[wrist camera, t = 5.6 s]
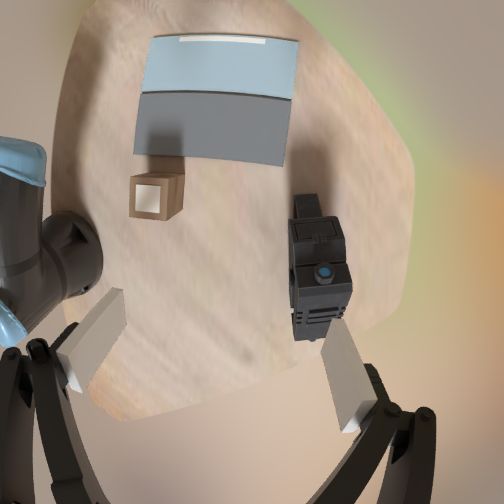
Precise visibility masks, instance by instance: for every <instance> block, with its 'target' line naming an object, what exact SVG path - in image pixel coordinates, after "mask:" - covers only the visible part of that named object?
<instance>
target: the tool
mask: <svg viewBox="0 0 504 504" xmlns="http://www.w3.org/2000/svg"><path fill="white" fill-rule="evenodd" d="M293 218H294V219H288V230H289V295H290V306H291V308H294V313H291V315H292V325H293V334H294V339H295V341H301V340H309V341H311V342H314V341H315V340H316V339H319V338H326V335H327V332H328V330H329V327H330V324H331V321H332V318H336V319H341V317H343V312H345V310H346V308H345V307H346V306H347V305H348V302H349V300H350V297H351V294H352V292H353V288H352V279H351V276H350V272H349V268H348V265H347V263H346V246H345V237H344V234H343V231H342V229H341V226H340V223H339V220H338V217H336V216H326V217H323V216H322V211H321V207H320V203H319V199H318V196H317V194H301V195H294V216H293Z"/></svg>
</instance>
